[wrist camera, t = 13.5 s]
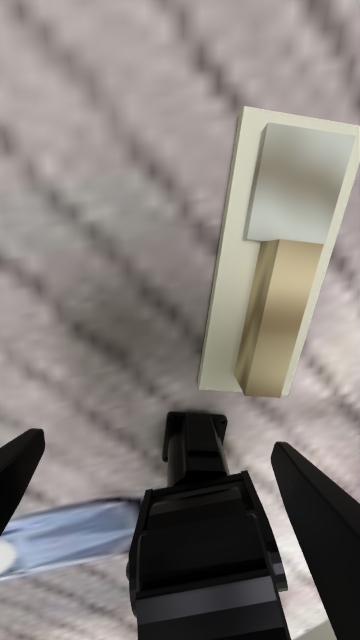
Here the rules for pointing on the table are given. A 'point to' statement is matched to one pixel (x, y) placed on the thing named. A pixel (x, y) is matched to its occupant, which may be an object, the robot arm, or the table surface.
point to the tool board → (257, 251)
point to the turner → (286, 244)
